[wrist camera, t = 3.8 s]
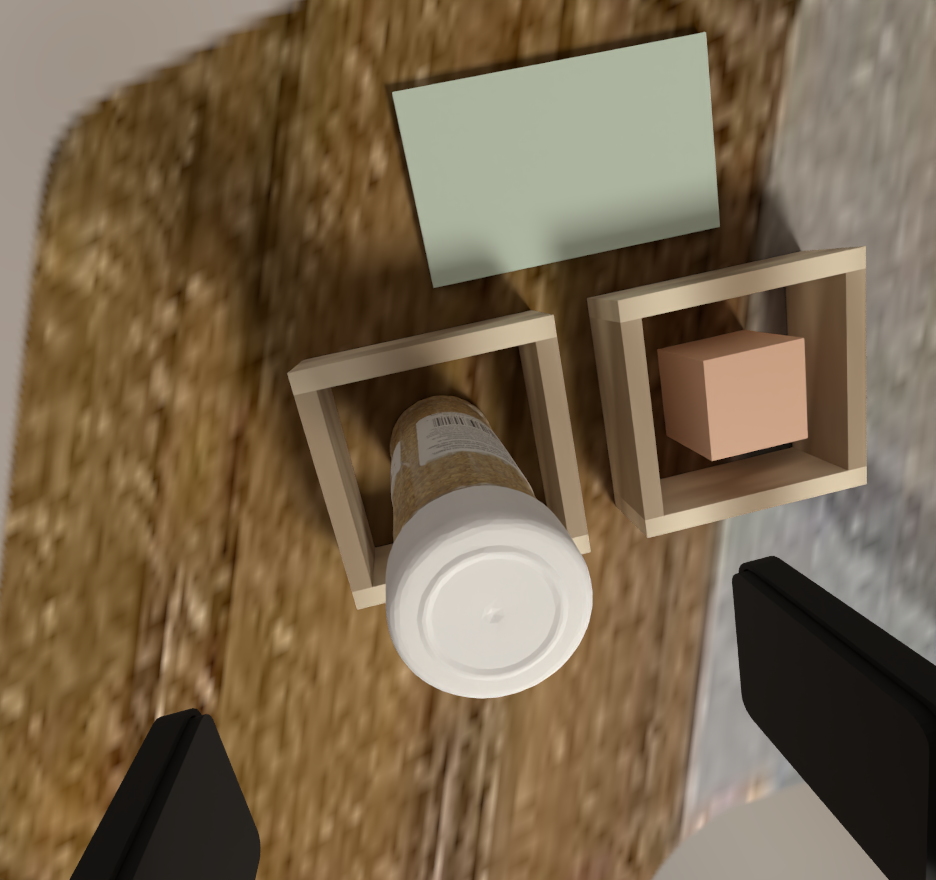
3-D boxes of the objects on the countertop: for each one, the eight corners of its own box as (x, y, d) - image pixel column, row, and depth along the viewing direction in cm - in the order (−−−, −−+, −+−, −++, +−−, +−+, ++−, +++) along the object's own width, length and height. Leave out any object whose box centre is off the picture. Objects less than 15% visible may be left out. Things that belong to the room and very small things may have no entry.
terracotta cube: (742, 329, 25) (804, 338, 22) (748, 415, 26) (807, 438, 23) (656, 349, 25) (703, 360, 21) (665, 435, 26) (711, 461, 22)
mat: (700, 36, 22) (705, 32, 22) (714, 227, 24) (720, 226, 24) (392, 95, 21) (392, 92, 21) (433, 288, 23) (433, 287, 23)
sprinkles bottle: (370, 461, 25) (342, 654, 12) (426, 371, 24) (462, 475, 11) (458, 511, 26) (521, 737, 13) (515, 427, 25) (640, 579, 12)
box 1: (531, 310, 24) (553, 314, 21) (566, 517, 27) (590, 551, 23) (302, 360, 23) (287, 373, 20) (362, 567, 26) (357, 609, 23)
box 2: (801, 251, 25) (865, 246, 21) (808, 459, 27) (866, 483, 24) (586, 298, 24) (617, 300, 21) (615, 506, 27) (647, 537, 23)
